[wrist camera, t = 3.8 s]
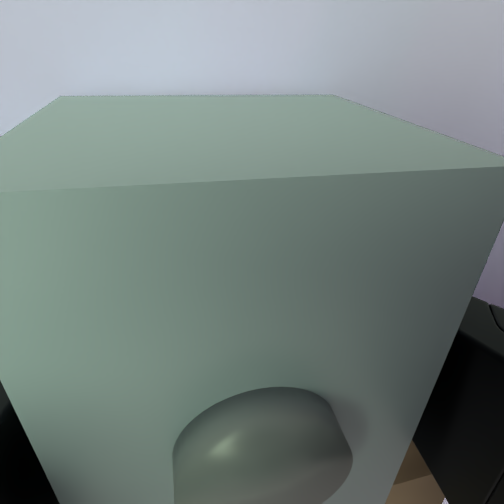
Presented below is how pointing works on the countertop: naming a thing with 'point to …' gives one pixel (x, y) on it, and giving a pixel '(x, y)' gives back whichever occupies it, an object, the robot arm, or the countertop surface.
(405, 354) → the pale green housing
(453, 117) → the countertop surface
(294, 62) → the countertop surface
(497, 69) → the countertop surface
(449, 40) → the countertop surface
